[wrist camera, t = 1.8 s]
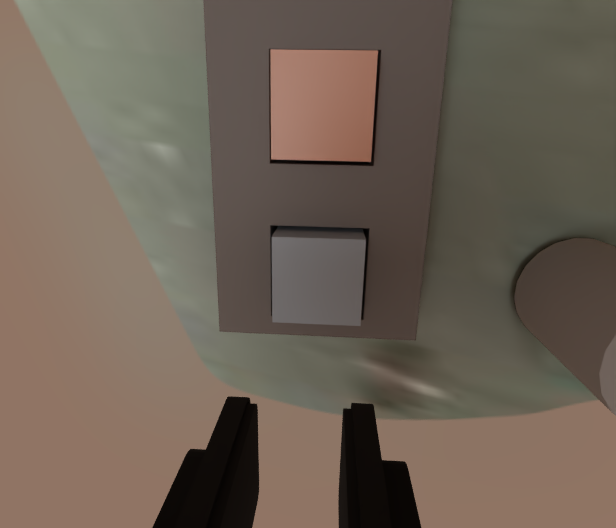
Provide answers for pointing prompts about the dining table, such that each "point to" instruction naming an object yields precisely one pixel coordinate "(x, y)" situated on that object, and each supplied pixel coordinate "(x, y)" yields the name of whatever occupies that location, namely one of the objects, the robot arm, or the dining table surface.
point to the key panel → (324, 174)
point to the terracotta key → (322, 104)
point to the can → (574, 310)
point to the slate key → (317, 275)
